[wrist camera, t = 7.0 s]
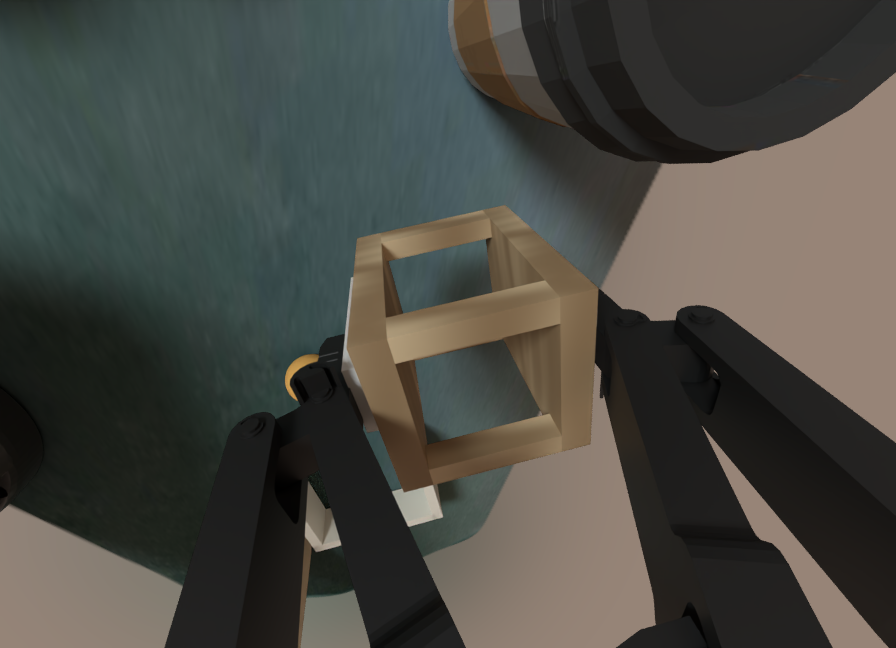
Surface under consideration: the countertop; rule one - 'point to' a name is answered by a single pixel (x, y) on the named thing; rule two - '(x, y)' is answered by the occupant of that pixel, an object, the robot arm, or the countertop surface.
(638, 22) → the coffee cup
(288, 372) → the ball
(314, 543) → the white u-shaped corral
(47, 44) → the countertop surface
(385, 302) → the wooden cage
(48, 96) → the countertop surface
